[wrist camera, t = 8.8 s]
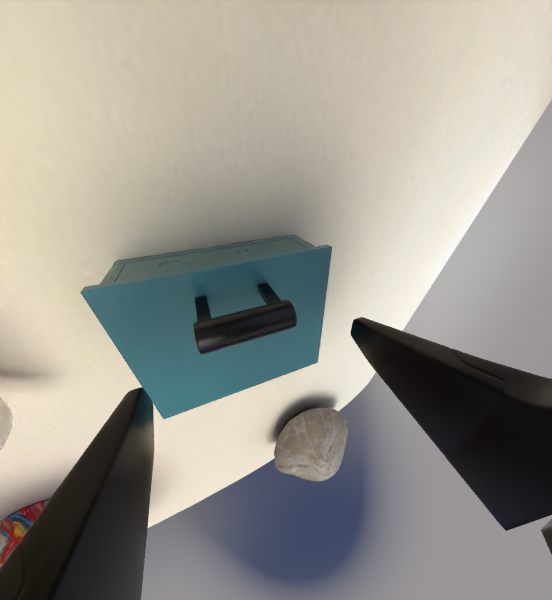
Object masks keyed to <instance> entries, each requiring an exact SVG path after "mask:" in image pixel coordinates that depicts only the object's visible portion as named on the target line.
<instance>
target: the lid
mask: <svg viewBox="0 0 552 600" xmlns="http://www.w3.org/2000/svg"><path fill="white" fill-rule="evenodd" d="M331 251H332V247H331V246H329V245H324V246H318V247H312V248H306V249H301V250H295V251H289V252H283V253H278V254H272V255H266V256H260V257H254V258H249V259H243V260H237V261H231V262H226V263H220V264H214V265H208V266H203V267H197V268H191V269H185V270H179V271H174V272H168V273H162V274H156V275H151V276H145V277H139V278H133V279H128V280H122V281H116V282H110V283H105V284H99V285H93V286H87V287H84V288H83V290H82V291H81V294H82V295H83V297H84V298H85V300H86V301H87V303H88V304H89V306H90V307H91V309H92V310H93V312H94V314H95V315H96V317H97V318H98V320H99V321H100V323H101V324H102V326H103V327H104V329H105V330H106V332H107V333H108V335H109V336H110V338H111V339H112V341H113V343H114V344H115V346H116V347H117V349H118V350H119V352H120V353H121V355H122V356H123V358H124V359H125V361H126V362H127V364H128V365H129V367H130V369H131V370H132V372H133V373H134V375H135V376H136V378H137V379H138V381H139V382H140V384H141V385H142V387H143V388H144V389H145V391H146V392H147V394H148V395H149V397H150V398H151V400H152V402H153V404H154V405H155V407H156V408H157V410H158V411H159V413H160V414H161V416H162V417H163V419H166V418H169V417H171V416H174V415H177V414H180V413H182V412H185V411H188V410H190V409H193V408H196V407H198V406H201V405H204V404H207V403H209V402H212V401H215V400H217V399H220V398H223V397H226V396H228V395H231V394H234V393H236V392H239V391H242V390H244V389H247V388H250V387H253V386H255V385H258V384H261V383H263V382H266V381H269V380H271V379H274V378H277V377H280V376H282V375H285V374H288V373H290V372H293V371H296V370H299V369H301V368H304V367H307V366H309V365H312V364H315V363H317V362H318V356H319V348H320V340H321V332H322V324H323V316H324V308H325V300H326V292H327V283H328V275H329V267H330V259H331Z"/></svg>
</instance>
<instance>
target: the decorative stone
mask: <svg viewBox="0 0 552 600" xmlns="http://www.w3.org/2000/svg"><path fill="white" fill-rule="evenodd" d="M347 434H348V425H347V419H346V418H345V417H344V416H343V415H342V414H341V413H339V412H338V411H336V410H334V409H330V408H322V407H320V408H313V409H309V410H305V411H303V412H301V413H300V414H299V415H297V416H296V417H294V418H293V419H291V420H290V421H289V422H288V423H287V424H286V426H285V427H284V429H283V430H282V432H281V434H280V435H279V437H278V440H277V442H276V446H275V451H274V456H275V466H276V468H277V469H278V470H279V471H281V472H283V473H287V474H293V475H296V476H298V477H300V478H303V479H307V480H312V481H324V480H327V479H329V478H330V477H332V476H333V475H334V474H335V473H336V472H337V470H338V468H339V467H340V464H341V461H342V458H343V454H344V450H345V443H346V440H347Z"/></svg>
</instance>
